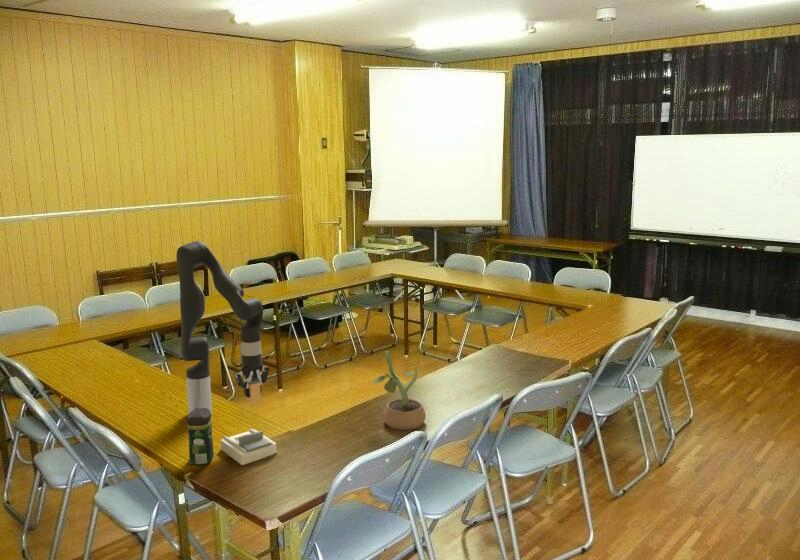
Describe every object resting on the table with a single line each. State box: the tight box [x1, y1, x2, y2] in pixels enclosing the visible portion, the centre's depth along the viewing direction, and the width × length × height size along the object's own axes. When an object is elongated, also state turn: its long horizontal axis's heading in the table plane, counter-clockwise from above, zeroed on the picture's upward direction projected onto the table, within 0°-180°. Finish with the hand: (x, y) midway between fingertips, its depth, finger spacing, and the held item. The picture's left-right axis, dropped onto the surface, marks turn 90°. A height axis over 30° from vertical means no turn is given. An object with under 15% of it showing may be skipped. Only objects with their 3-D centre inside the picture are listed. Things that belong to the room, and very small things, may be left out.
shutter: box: [239, 430, 270, 452], centre depth 245 cm, size 6×9×3 cm
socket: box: [220, 427, 278, 466], centre depth 250 cm, size 16×14×5 cm
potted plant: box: [370, 350, 427, 431], centre depth 274 cm, size 22×18×30 cm
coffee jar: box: [186, 408, 214, 466], centre depth 242 cm, size 10×8×19 cm
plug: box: [245, 378, 262, 403], centre depth 257 cm, size 4×4×9 cm
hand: (253, 395), depth 257 cm, fingers closed on plug, 4 cm apart
